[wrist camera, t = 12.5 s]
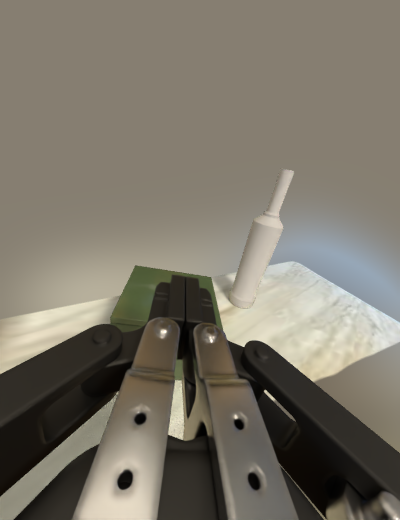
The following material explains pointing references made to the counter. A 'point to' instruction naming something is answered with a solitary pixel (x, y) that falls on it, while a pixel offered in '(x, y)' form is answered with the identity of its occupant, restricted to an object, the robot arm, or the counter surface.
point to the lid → (150, 295)
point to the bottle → (260, 246)
